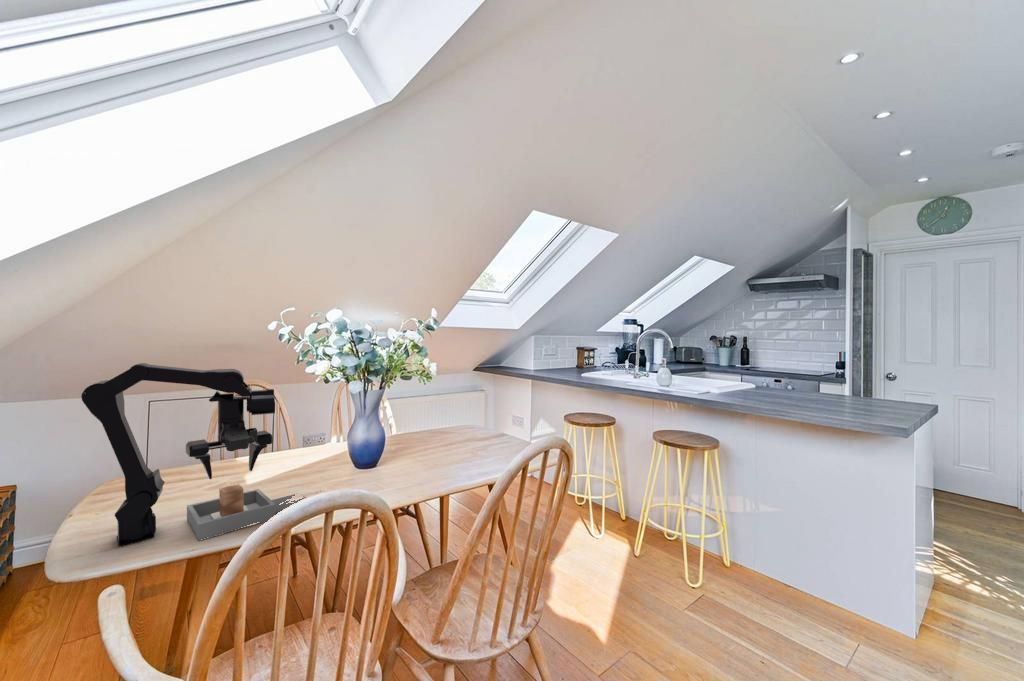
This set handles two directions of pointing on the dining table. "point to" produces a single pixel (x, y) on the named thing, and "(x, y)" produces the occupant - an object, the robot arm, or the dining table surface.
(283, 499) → the mat
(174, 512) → the dining table surface
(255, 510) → the crate
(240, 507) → the block
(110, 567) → the dining table surface
